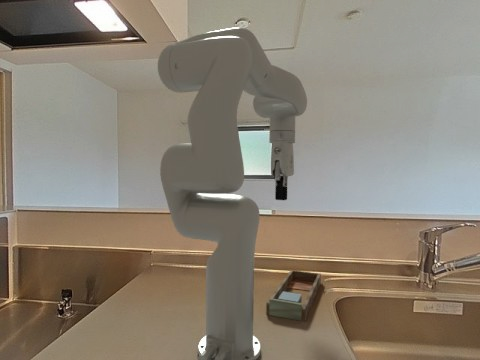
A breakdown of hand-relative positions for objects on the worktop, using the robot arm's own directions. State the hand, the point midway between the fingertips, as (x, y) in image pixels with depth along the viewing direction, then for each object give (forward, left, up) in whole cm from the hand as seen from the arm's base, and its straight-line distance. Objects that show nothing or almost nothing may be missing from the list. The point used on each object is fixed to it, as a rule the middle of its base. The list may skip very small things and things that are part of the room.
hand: (281, 199), depth 98 cm
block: (-14, -6, -27) cm, 31 cm away
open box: (-4, -6, -27) cm, 28 cm away
